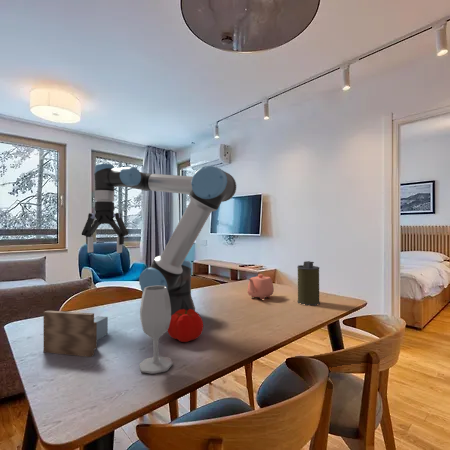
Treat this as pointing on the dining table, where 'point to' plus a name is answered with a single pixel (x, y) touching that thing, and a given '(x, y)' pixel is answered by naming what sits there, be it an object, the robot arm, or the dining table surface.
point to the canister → (308, 284)
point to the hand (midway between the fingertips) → (104, 252)
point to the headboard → (70, 333)
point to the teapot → (260, 286)
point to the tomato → (185, 325)
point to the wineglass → (155, 325)
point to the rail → (101, 326)
